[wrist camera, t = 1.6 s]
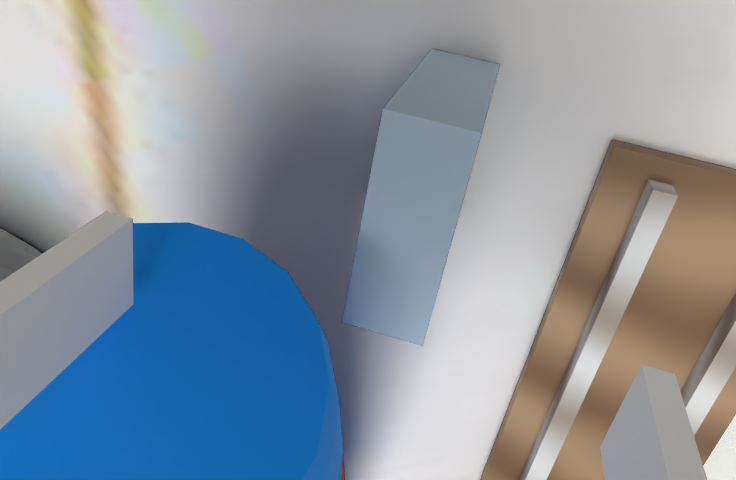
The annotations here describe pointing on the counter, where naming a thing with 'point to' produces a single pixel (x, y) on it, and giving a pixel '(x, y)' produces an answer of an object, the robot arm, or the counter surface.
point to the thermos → (190, 377)
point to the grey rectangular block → (417, 193)
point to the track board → (630, 316)
